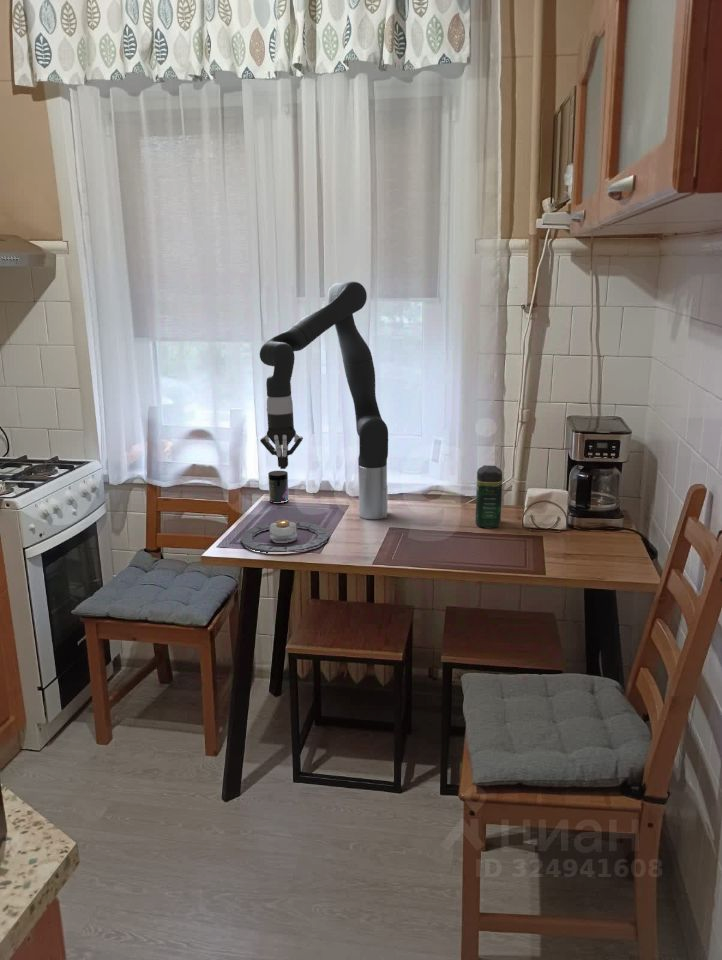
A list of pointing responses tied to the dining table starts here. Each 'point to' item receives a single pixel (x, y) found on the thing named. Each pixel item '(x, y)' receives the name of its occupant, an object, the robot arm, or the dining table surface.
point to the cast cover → (283, 530)
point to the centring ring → (252, 545)
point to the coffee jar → (488, 496)
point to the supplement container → (278, 486)
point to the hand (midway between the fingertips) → (283, 468)
